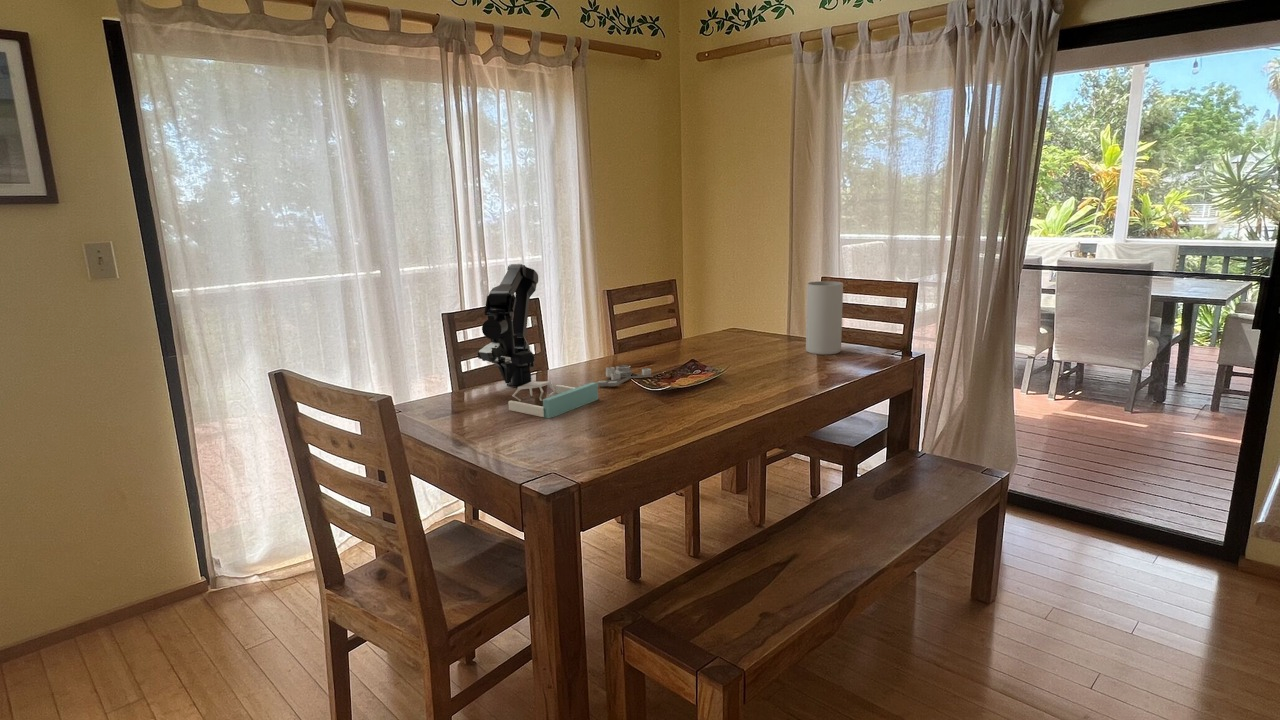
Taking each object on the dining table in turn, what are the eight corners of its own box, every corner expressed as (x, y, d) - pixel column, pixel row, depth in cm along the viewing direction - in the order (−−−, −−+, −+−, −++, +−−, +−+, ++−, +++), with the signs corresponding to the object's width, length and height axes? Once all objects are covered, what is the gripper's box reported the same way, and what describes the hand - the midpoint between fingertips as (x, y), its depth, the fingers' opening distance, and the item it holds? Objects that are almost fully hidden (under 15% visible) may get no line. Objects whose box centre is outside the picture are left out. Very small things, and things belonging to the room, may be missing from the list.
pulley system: (582, 383, 229) (604, 390, 217) (581, 369, 229) (603, 375, 216) (654, 373, 243) (678, 380, 230) (653, 360, 242) (678, 365, 230)
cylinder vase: (806, 355, 254) (808, 285, 249) (804, 347, 266) (806, 281, 261) (842, 355, 252) (845, 285, 247) (839, 347, 264) (841, 281, 259)
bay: (508, 409, 200) (507, 392, 199) (558, 392, 216) (557, 376, 215) (549, 418, 191) (548, 400, 190) (598, 399, 207) (597, 383, 206)
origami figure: (539, 393, 216) (538, 377, 215) (556, 397, 211) (555, 381, 210) (507, 402, 208) (505, 386, 207) (524, 407, 202) (523, 390, 201)
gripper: (461, 334, 209) (466, 385, 212) (505, 340, 198) (509, 393, 202) (489, 328, 218) (494, 377, 221) (533, 333, 207) (537, 384, 210)
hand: (507, 383), depth 213 cm, fingers closed
